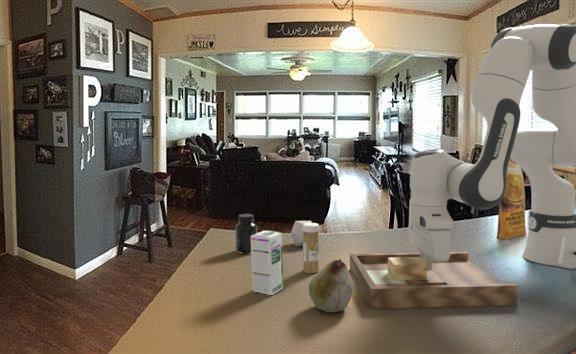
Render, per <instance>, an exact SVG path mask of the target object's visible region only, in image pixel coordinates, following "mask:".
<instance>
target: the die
mask: <svg viewBox="0 0 576 354" xmlns="http://www.w3.org/2000/svg"><path fill="white" fill-rule="evenodd" d="M305 223H313V222H312V220H295V222H294V224H293V226H292V229H291V232H290V236H291V239H292V241H293V242H294V245H295V247H303V224H305Z"/></svg>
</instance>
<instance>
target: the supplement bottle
mask: <svg viewBox="0 0 576 354" xmlns="http://www.w3.org/2000/svg"><path fill="white" fill-rule="evenodd" d="M254 221H255V219H254V215H253V214H251V213H242V214H239V215H238V223H236V225H235V252H236V251H238V252H242V253H250V252H251V235H255V234H257V233H258V225H257V224H256V223H255V222H254Z"/></svg>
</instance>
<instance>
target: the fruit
mask: <svg viewBox="0 0 576 354" xmlns="http://www.w3.org/2000/svg"><path fill="white" fill-rule="evenodd" d="M308 284H309V285H308V295H309V297H310V299H311V301H312V303H313V304H314V305H315V306H316V308H318V310H321V311H323V312H325V313H329V314H330V313H339V312H341V311H344V310H345V309H346V308H347V307H348V305H349V303H350V302H351V299H352V296H353V290H354V283H353V279H352V276H351V274H350V272H349V268H348V266H347V265H346V263H345V262H343V260H342V259H341V258H340V259H334V260H331V261H330V262H328V263H326V265H325V266H323V268H321V269H319V271H318V272H316V273H315V275H314V276H313V277H312V278H311V279H310V282H309V283H308Z"/></svg>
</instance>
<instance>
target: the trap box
mask: <svg viewBox="0 0 576 354" xmlns="http://www.w3.org/2000/svg"><path fill="white" fill-rule="evenodd" d="M393 257H419V258H420V254H419V252H392V253H391V252H390V253H388V252H387V253H386V252H385V253H384V252H383V253H382V252H381V253H350V254H349V271H350V273H351V274H352V276H353V278H354V280H355V282H356V283H357V286H358V288H359V289H360V291H361V292H362V294H363V296H364V298H365V300H366V302H367V304H368V305H369V308H370V309H375V310H376V309H407V308H409V309H411V308H439V307H440V308H442V307H443V308H444V307H449V308H450V307H481V306H482V307H484V306H486V307H487V306H490V307H491V306H517V305H518V290H519V285H518V284H516V283H513V282H512V283H511V282H510V283H509V282H505V283H503V282H500V281H499V280H497V279H496V278H495V277H494V276H492V275H490V274H488V272H486V271H485V270H483V269H481V268H480V267H479V266H477V265H475V263H472V262H471V261H469V252H467V251H451V252H450V258H449V260H448V261H447V262H433V263H432V270H431V271H427V278H426V280H401V281H394V280H393V279H392V277H391V276H390V275H389V274H388V258H393Z"/></svg>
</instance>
